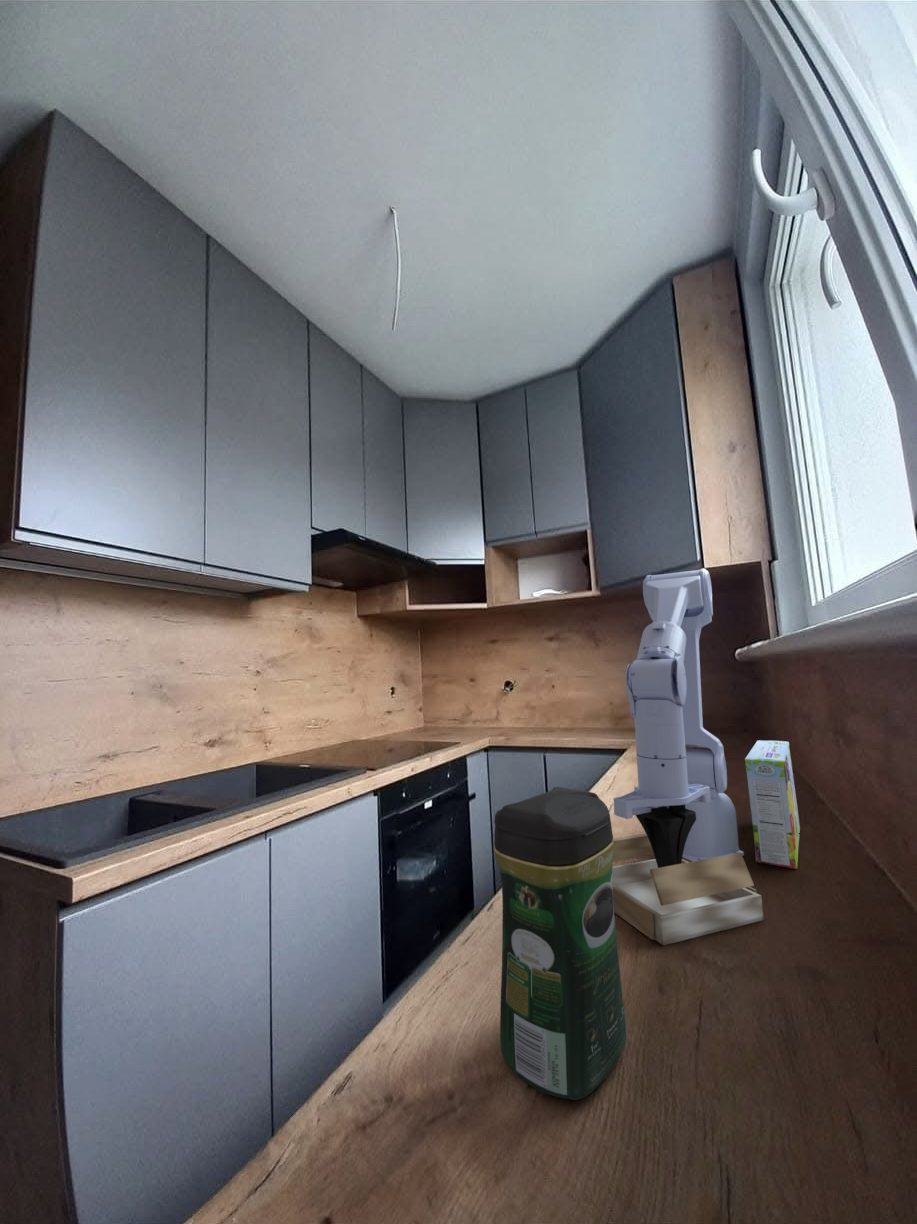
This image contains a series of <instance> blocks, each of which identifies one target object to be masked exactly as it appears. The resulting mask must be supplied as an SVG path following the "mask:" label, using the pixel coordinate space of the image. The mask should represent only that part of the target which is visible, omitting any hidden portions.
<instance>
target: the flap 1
mask: <svg viewBox="0 0 917 1224" xmlns="http://www.w3.org/2000/svg"><path fill="white" fill-rule="evenodd" d="M648 856H654V853H653V850H652V847H651V844H650V841H649V839H648V837H647V834H646V833H640V834H635V835H627V836H621V837H615V838H614V837H613V863H614V862H619V861H626V860H630V859H636V858H641V857H648Z"/></svg>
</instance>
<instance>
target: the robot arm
mask: <svg viewBox="0 0 917 1224" xmlns="http://www.w3.org/2000/svg"><path fill="white" fill-rule="evenodd" d="M642 594H643V595H642V596H643V602H644V605H645V607H646V609H647V611H648V614H649V617H650V619H651V620H652V623H649V624H648V625H647V626H645V628H644V630H643V632H642V634H641V639H640V644H639V649H638V652H637V656H636V659H634V660H633V661H632V663H628V664H627V666H626V670H625V688H626V689H625V690H626V695H627V699H628V702H629V703H628V704H629V712H630V716H631V718H633V719H634V720H633V721H634V732H635V733H634V734H635V736H634V737H635V748H636V749H635V751H636V766H637V768H636V770H637V781H638V783H637V784H638V785H635V786H634V789H633V791H630V792H628V793H626V794H623V795H622V796H617V797H613V813H614V816H618V817H620V818H623V819H626V820H628V819H632V818H633V816H635V817H636V819H637V820H638V821H639V823H640V824H641V826H642V828H643V830H644V832H645V834H647V837H648V839H649V841H650V844H651V847H652V850H653V853H654V855H653V856H654V859H656V862H657V866H658V868H661V867H666V866H671V865H677V864H681V861H682V856H684V857H686V858H688V859H690V860H693V861H698V860H704V859H709V858H714V857H720V856H725V855H731V854H736V853H741V855H742V857H743V856H745V852H744V851H743V850H740V847H739V846H740V845H739V833H738V822H737V812H736V807H735V806H734V803H733V802H732V800H731V798H730V797H729V796H728V795H727V794H726V793H724V792H725V791H726V790H727V788H728V774H727V773H728V772H727V762H726V757H725V756H726V755H725V751H724V749H725V748H724V745H723V743H722V742H721V740H720V739H719V738H718V737H717V736H715V735H714V734H712V733H711V732H709V731H708V730H707V729H705V728H704V724H703V721H704V720H703V719H704V718H703V702H702V684H701V683H702V679H701V661H700V637H701V633H702V632H701V631H702V628H703V627H704V626H705V627H706V626H707V625H709V624H710V623H712V622H713V620H712V617H713V616H714V612H713V611H714V609H713V587H712V580H711V574H710V572H709V571H708V570H707V569H706V568H700V569H697V570H696V569H695V570H688V571H686V570H685V571H680V572H671V573H663V574H653V575H652V574H647V575H646V576H645V578H644V579H643V583H642ZM686 747H691V748H686ZM692 748H693V749H692ZM694 748H706V749H694ZM708 749H709V750H708Z"/></svg>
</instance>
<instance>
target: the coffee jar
mask: <svg viewBox="0 0 917 1224" xmlns="http://www.w3.org/2000/svg"><path fill="white" fill-rule="evenodd" d="M611 820H612V819H611V814H610V811H609V808H608V806H607V805H606V803H605V802H604V801H603V800H602V799H600V797H599V796H598V794H597V793H594V792H591V791H585V790H580V789H573V788H567V787H561V786H554V787H553V788H552V789H551V790H549V791H546V792H542V793H540V794H538V795H534V796H532V797H529V798H526V799H523V800H521V801H518V802H514V803H510V804H505V805H504V806H503V807H501V808H500V809H498V810H497V811H496V812H495V814H494V842H493V843H494V846H493V851H494V858H495V861H496V864H497V867H498V870H499V874H500V881H501V882H500V883H501V894H502V898H501V899H502V902H501V903H502V929H501V930H502V932H501V933H502V934H501V935H502V936H501V938H502V940H501V941H502V942H501V945H502V947H501V951H502V952H501V953H502V954H501V981H500V982H501V983H500V1007H499V1008H500V1014H499V1016H500V1017H499V1019H500V1023H499V1024H500V1025H499V1028H500V1029H499V1031H500V1033H499V1034H500V1035H499V1037H500V1042H499V1044H500V1045H499V1046H500V1050H501V1051H500V1052H501V1054H502V1057H503V1059H504V1061H505V1063H506V1064H507V1065H508V1067H509V1068H510V1069H511V1070H512V1071H513V1072H514V1073H515V1074H516V1075H517V1077H519V1079H521V1080H523V1081H524V1082H525V1083H526V1084H528V1085H529V1086H530V1087H532V1088H533V1089H535V1090H537V1091H538V1092H540V1093H542V1094H544V1095H548V1096H549V1095H550V1096H553V1097H556V1098H560V1099H565V1100H566V1099H567V1100H574V1101H575V1100H576V1101H577V1100H581V1099H583V1098H585V1097H586V1096H589V1095H590V1094H591V1093H592V1092H594V1090H595V1089H596V1088H598V1087H599V1086H600V1085H601V1084H602V1082H604V1080H605V1079H606V1078H607V1077H608V1075H609V1074H610V1073H611V1071H612V1070H613V1068H614V1067H615V1066H616V1063H617V1062H618V1061H619V1059H620V1056H622V1055H621V1054H622V1052H623V1051H624V1047H625V1045H626V1042H627V1026H626V1015H625V1003H624V996H623V995H624V994H623V987H622V985H623V984H622V979H621V970H620V962H619V961H620V959H619V950H618V949H619V948H618V938H617V928H616V917H615V912H614V903H613V886H612V867H613V865H614V864H613V863H614V862H613V839H614V836H613V835H614V834H613V829H612V826H613V825H612V821H611Z"/></svg>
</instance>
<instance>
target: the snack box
mask: <svg viewBox="0 0 917 1224" xmlns="http://www.w3.org/2000/svg"><path fill="white" fill-rule="evenodd" d="M791 757H792V756H791V750H790V742H789V741H784V740H762V739H760V740H758V739H757V740H756V742H755V744H754V745H753V746H752V748H751V749H750V751H749V752H748V754H747V755H746V757H744V763H745V770H746V778H747V788H748V796H749V797H748V798H749V803H750V804H749V805H750V814H751V823H752V825H751V826H752V833H753V840H754V841H753V842H754V852H755V862H756V863H757V862H758V863H757V864H763V863H764V865H770V866H776V867H783V868H789V869H794V870H797V869H798V863H799V861H798V859H799V846H800V845H799V844H800V834H799V833H801V832H800V831H801V826H800V817H799V809H798V803H797V795H796V788H795V781H794V780H795V779H794V773H793V771H794V770H793V763H792V758H791Z"/></svg>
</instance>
